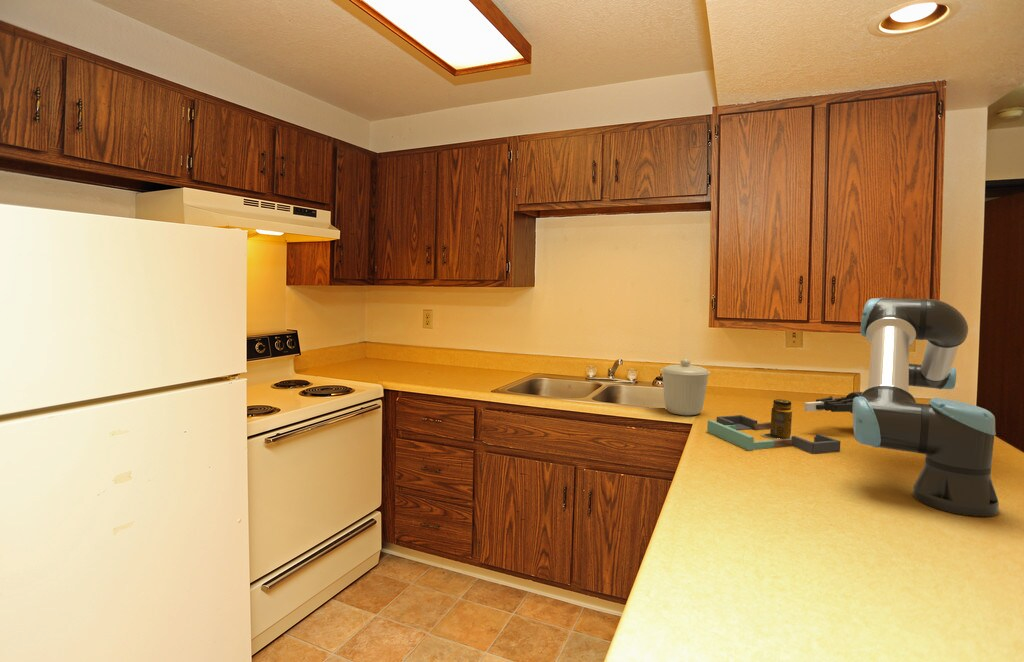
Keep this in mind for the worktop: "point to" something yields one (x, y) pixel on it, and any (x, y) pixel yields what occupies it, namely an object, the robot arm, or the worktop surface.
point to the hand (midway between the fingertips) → (806, 406)
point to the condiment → (780, 420)
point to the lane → (776, 442)
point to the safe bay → (736, 436)
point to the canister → (684, 388)
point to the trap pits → (818, 446)
